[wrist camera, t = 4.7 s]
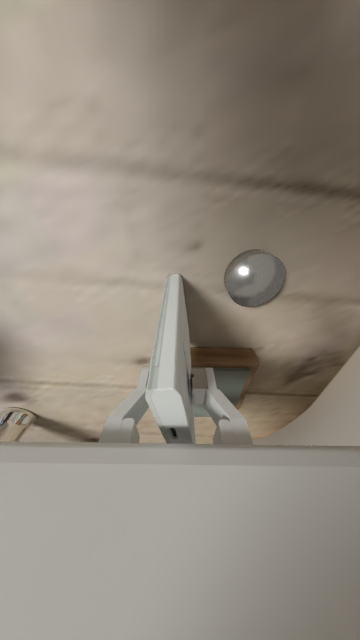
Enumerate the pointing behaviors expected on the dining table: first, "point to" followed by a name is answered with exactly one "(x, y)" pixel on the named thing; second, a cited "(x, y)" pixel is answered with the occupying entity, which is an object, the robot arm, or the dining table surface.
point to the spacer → (254, 278)
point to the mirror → (226, 372)
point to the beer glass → (15, 423)
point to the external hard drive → (172, 368)
